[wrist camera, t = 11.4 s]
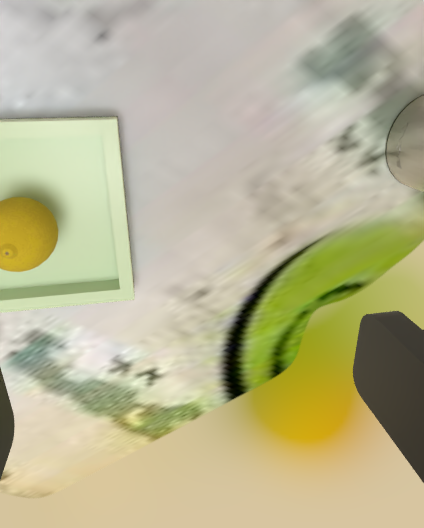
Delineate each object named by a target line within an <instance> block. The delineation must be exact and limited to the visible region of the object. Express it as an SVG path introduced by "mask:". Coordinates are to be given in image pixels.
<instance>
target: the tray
mask: <svg viewBox="0 0 424 528" xmlns="http://www.w3.org/2000/svg"><path fill="white" fill-rule="evenodd" d="M12 197H26V198H31V199H34V200H36V201H39V202H40V203H42V204H43V205H45V206H46V207H47V208H48V209H49V210H50V211H51V212H52V214H53V216H54V218H55V220H56V222H57V226H58V241H57V244H56V247H55V249H54V251H53V252H52V254H51V255H50V256H49V258H48V259H47V260H46V261H44V262H43V263H42V264H41V265H39V266H38V267H35V268H33V269H31V270H28V271H22V272H10V271H6V270H3V269H0V313H2V312H12V311H23V310H33V309H43V308H53V307H64V306H74V305H84V304H95V303H105V302H115V301H126V300H134V280H133V270H132V260H131V250H130V240H129V229H128V219H127V209H126V199H125V189H124V178H123V168H122V158H121V148H120V137H119V127H118V117H117V116H113V117H68V118H24V119H0V201H2V200H5V199H8V198H12Z"/></svg>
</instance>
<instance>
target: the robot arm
mask: <svg viewBox="0 0 424 528" xmlns="http://www.w3.org/2000/svg"><path fill="white" fill-rule="evenodd" d="M386 155H387V163H388V166H389V168H390V171H391V173H392V174H393V175H394V177H395V178H396V179H397V180H398V181H399V182H401V183H402V184H404V185H407V186H409V187H412V188H414V189H417V190H420V191H422V192H424V95H423V96H421V97H419V98H417V99H415V100H414V101H413V102H412V103H410V104H409V105H408V106H407V107H406V108H405V109H404V110H403V111H402V112H401V113H400V115H399V116H398V118H397V119H396V121H395V122H394V124H393V127H392V129H391V131H390V134H389V137H388V141H387V150H386ZM353 377H354V382H355V386H356V388H357V391H358V393H359V394H360V396H361V397H362V399H363V400H364V402H365V403H366V404H367V406H368V407H369V408H370V410H371V411H372V413H373V414H374V415H375V417H376V418H377V419H378V421H379V422H380V424H381V425H382V426H383V427H384V429H385V430H386V432H387V433H388V434H389V436H390V437H391V439H392V440H393V441H394V443H395V444H396V445H397V447H398V448H399V450H400V451H401V452H402V454H403V455H404V456H405V458H406V459H407V461H408V462H409V463H410V465H411V466H412V467H413V469H414V470H415V472H416V473H417V474H418V476H419V477H420V478H421V480H422V481H423V482H424V330H422V329H420V328H419V327H418V326H417V325H416V324H415V323H413V322H412V321H411V320H410V319H409V318H407V317H406V316H405V315H404V314H403V313H401V312H399V311H392V312H383V313H374V314H366V315H365V316H363V318H362V320H361V323H360V329H359V334H358V341H357V347H356V353H355V359H354V366H353ZM13 437H14V415H13V411H12V407H11V403H10V400H9V396H8V393H7V389H6V386H5V382H4V379H3V375H2V372H1V368H0V479H1V476H2V473H3V470H4V467H5V464H6V461H7V458H8V455H9V452H10V449H11V446H12V442H13Z"/></svg>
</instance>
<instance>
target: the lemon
mask: <svg viewBox="0 0 424 528" xmlns="http://www.w3.org/2000/svg"><path fill="white" fill-rule="evenodd" d="M57 241H58V226H57V222H56V220H55V218H54V216H53V214H52V212H51V211H50V210H49V209H48V208H47V207H46V206H45V205H43V204H42V203H40V202H39V201H36V200H34V199H31V198H26V197H12V198H8V199H5V200H2V201H0V269H3V270H6V271H10V272H22V271H28V270H31V269H33V268H35V267H38V266H39V265H41V264H42V263H43V262H44V261H46V260H47V259H48V258H49V256H50V255H51V254H52V252H53V251H54V249H55V247H56V244H57Z"/></svg>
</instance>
